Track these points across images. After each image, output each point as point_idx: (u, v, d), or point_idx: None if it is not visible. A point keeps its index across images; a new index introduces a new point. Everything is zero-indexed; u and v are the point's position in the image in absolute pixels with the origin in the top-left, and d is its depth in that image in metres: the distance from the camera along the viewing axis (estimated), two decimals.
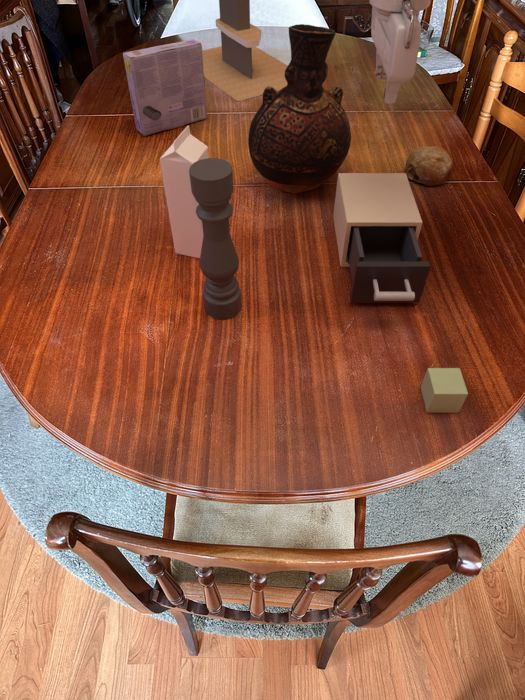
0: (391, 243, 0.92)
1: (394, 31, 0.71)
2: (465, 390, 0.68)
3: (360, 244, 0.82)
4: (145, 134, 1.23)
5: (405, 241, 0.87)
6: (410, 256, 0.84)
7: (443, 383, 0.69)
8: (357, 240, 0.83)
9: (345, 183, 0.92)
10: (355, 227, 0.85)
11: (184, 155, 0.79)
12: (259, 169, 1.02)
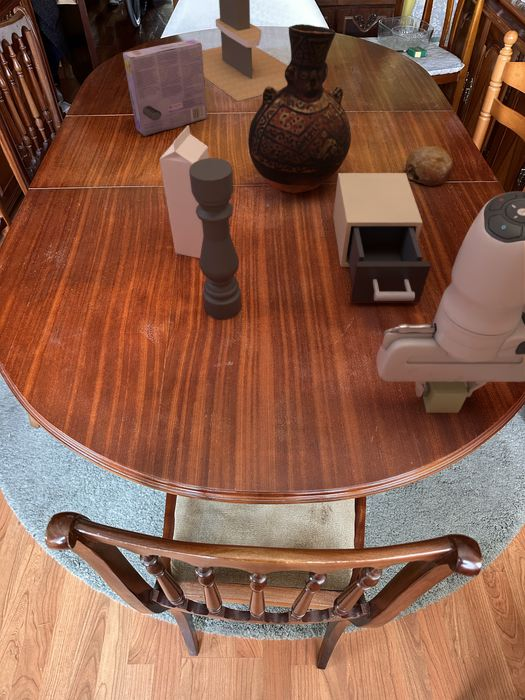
0: (391, 243, 0.92)
1: None
2: (465, 390, 0.68)
3: (360, 244, 0.82)
4: (145, 134, 1.23)
5: (405, 241, 0.87)
6: (410, 256, 0.84)
7: (443, 383, 0.69)
8: (357, 240, 0.83)
9: (345, 183, 0.92)
10: (355, 227, 0.85)
11: (184, 155, 0.79)
12: (259, 169, 1.02)
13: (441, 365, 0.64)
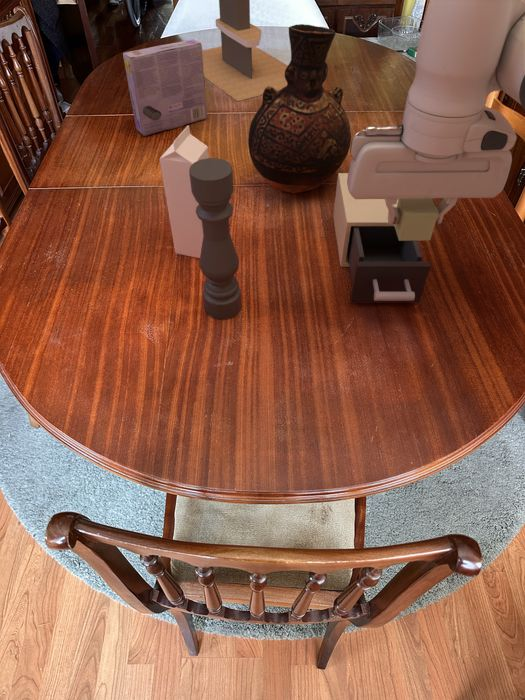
0: (391, 243, 0.92)
1: None
2: (435, 210, 0.69)
3: (360, 244, 0.82)
4: (145, 134, 1.23)
5: (405, 241, 0.87)
6: (410, 256, 0.84)
7: (414, 206, 0.69)
8: (357, 240, 0.83)
9: (345, 183, 0.92)
10: (355, 227, 0.85)
11: (184, 155, 0.79)
12: (259, 169, 1.02)
13: (409, 175, 0.65)
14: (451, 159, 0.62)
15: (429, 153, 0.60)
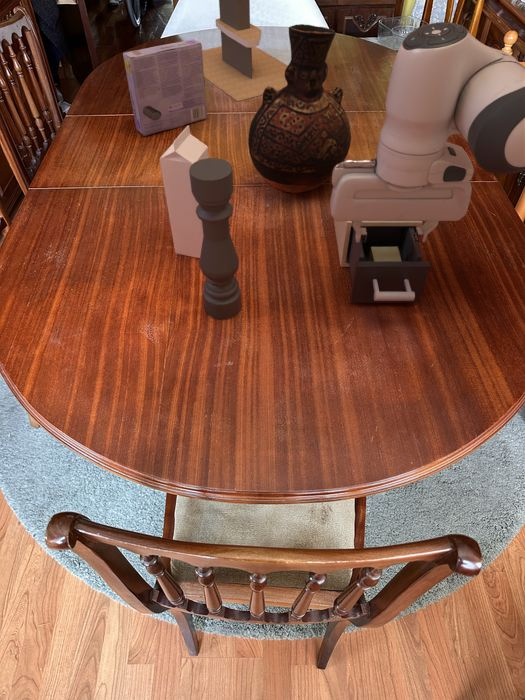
0: (391, 243, 0.92)
1: None
2: None
3: (360, 244, 0.82)
4: (145, 134, 1.23)
5: (405, 241, 0.87)
6: (410, 256, 0.84)
7: (382, 256, 0.83)
8: None
9: None
10: None
11: (184, 155, 0.79)
12: (259, 169, 1.02)
13: (383, 201, 0.74)
14: (418, 188, 0.71)
15: (398, 184, 0.69)
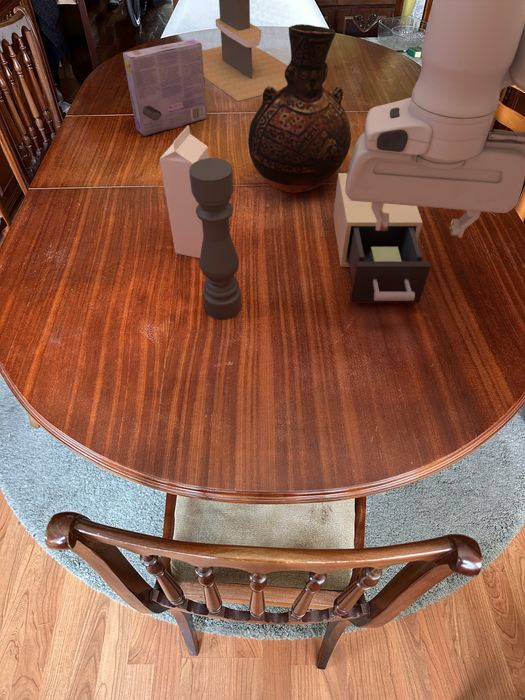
0: (391, 243, 0.92)
1: (516, 165, 0.56)
2: None
3: (360, 244, 0.82)
4: (145, 134, 1.23)
5: (405, 241, 0.87)
6: (410, 256, 0.84)
7: (382, 256, 0.83)
8: (357, 240, 0.83)
9: (345, 183, 0.92)
10: (355, 227, 0.85)
11: (184, 155, 0.79)
12: (259, 169, 1.02)
13: None
14: None
15: None
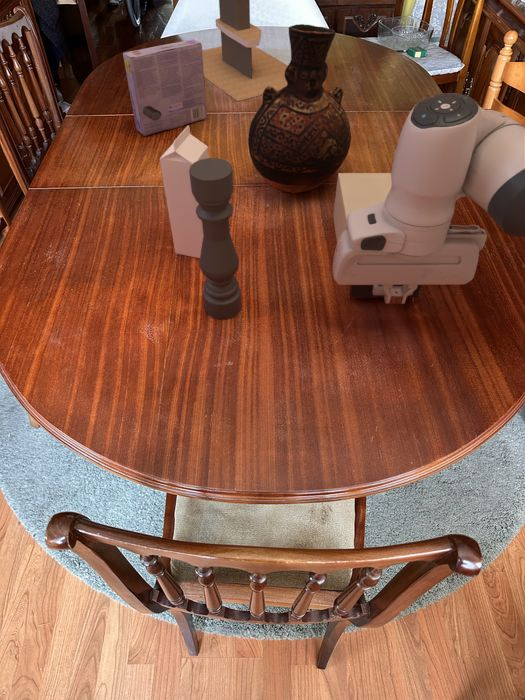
0: None
1: (471, 251, 0.69)
2: None
3: None
4: (145, 134, 1.23)
5: None
6: None
7: None
8: None
9: (345, 183, 0.92)
10: None
11: (184, 155, 0.79)
12: (259, 169, 1.02)
13: None
14: None
15: None
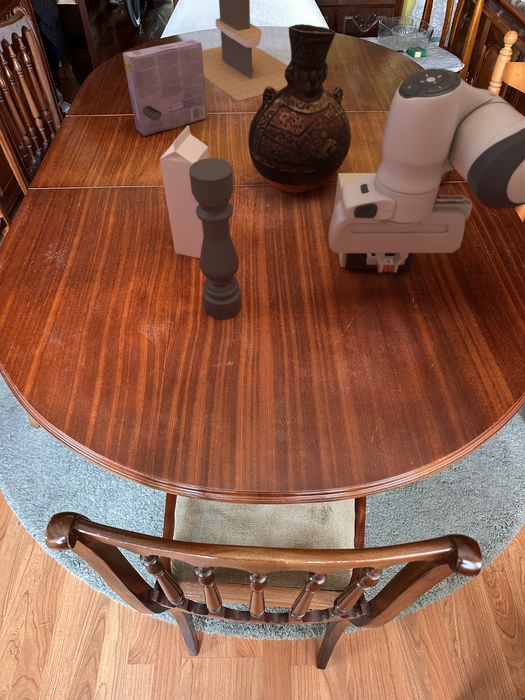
0: None
1: (457, 219, 0.74)
2: None
3: None
4: (145, 134, 1.23)
5: None
6: None
7: None
8: None
9: None
10: None
11: (184, 155, 0.79)
12: (259, 169, 1.02)
13: None
14: None
15: None
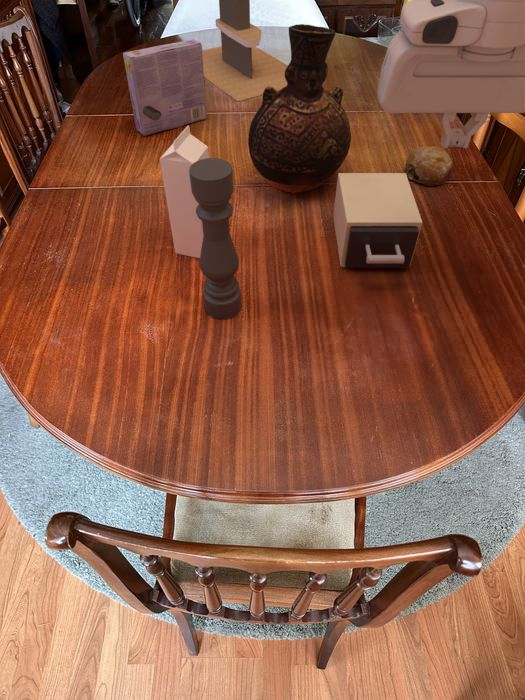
0: None
1: None
2: None
3: None
4: (145, 134, 1.23)
5: None
6: None
7: None
8: None
9: (345, 183, 0.92)
10: None
11: (184, 155, 0.79)
12: (259, 169, 1.02)
13: None
14: None
15: None
